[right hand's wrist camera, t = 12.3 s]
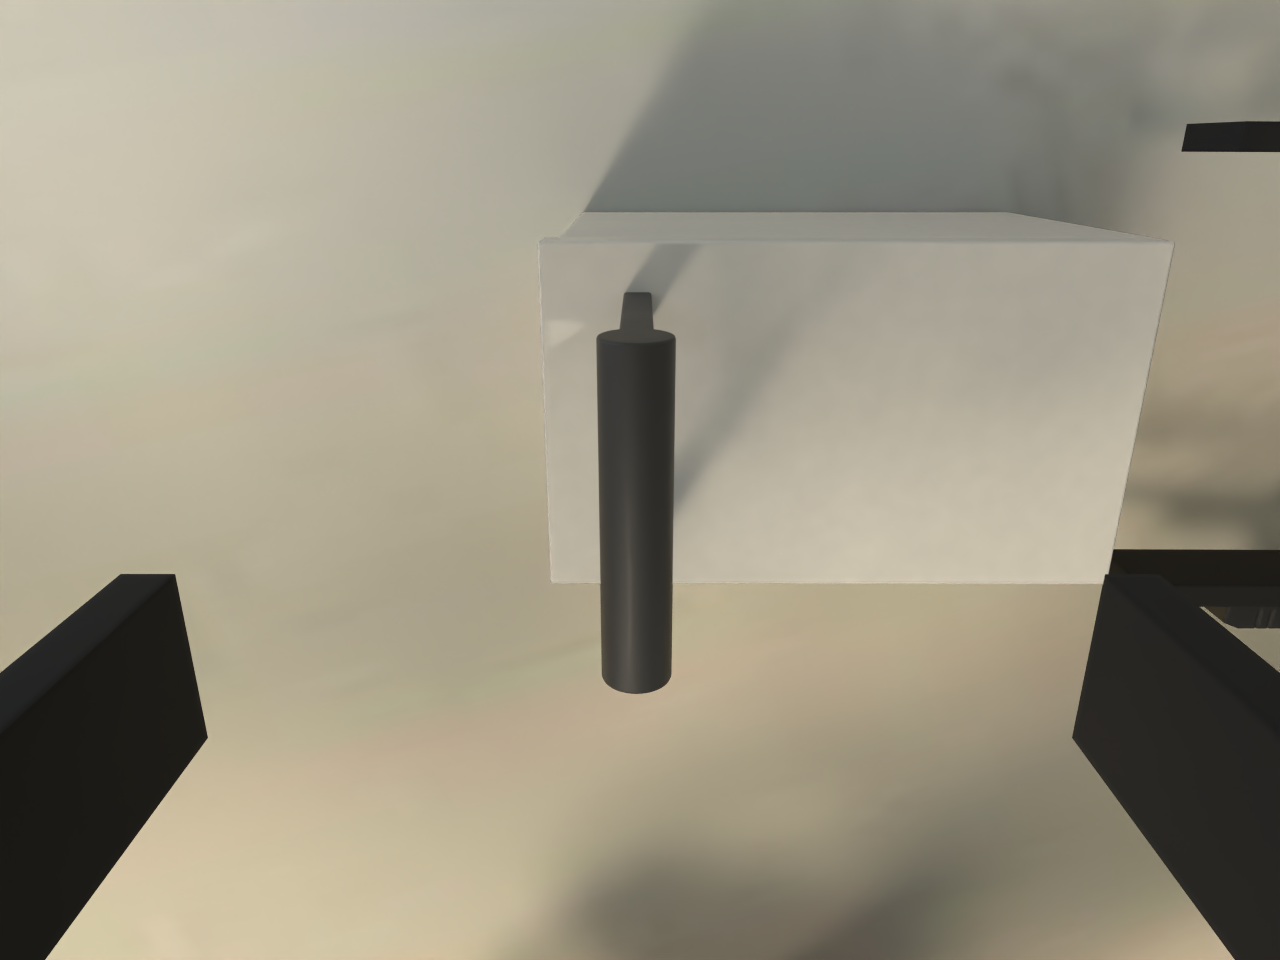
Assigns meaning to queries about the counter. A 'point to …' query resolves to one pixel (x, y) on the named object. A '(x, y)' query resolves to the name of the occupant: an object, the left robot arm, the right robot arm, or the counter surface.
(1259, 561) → the left robot arm
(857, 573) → the lid
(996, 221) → the chest
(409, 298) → the counter surface
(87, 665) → the right robot arm
